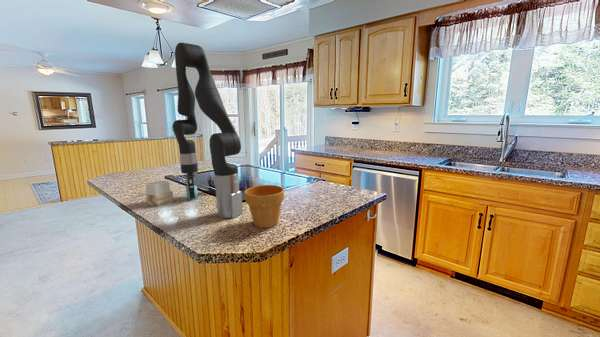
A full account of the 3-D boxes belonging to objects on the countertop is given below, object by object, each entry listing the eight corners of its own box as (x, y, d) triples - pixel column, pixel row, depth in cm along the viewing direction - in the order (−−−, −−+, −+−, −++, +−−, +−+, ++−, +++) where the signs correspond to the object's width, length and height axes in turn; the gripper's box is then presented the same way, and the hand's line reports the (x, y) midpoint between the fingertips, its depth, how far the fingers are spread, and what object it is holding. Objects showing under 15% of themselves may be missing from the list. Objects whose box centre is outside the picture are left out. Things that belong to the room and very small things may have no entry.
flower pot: (238, 226, 103) (236, 192, 100) (262, 213, 115) (261, 183, 112) (269, 234, 96) (268, 198, 93) (292, 220, 108) (291, 187, 105)
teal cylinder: (200, 197, 138) (199, 185, 137) (192, 200, 134) (190, 188, 132) (193, 196, 140) (192, 184, 139) (184, 199, 136) (183, 187, 135)
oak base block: (173, 201, 133) (172, 191, 132) (158, 207, 126) (156, 196, 125) (162, 199, 137) (161, 189, 136) (147, 204, 130) (145, 194, 129)
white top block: (170, 191, 132) (168, 181, 131) (156, 196, 126) (154, 185, 125) (160, 190, 135) (159, 179, 134) (146, 193, 129) (145, 183, 128)
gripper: (197, 164, 128) (201, 200, 131) (196, 159, 141) (200, 191, 145) (179, 165, 125) (183, 202, 129) (180, 160, 138) (184, 193, 142)
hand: (192, 196), depth 137 cm, fingers closed on teal cylinder, 5 cm apart
